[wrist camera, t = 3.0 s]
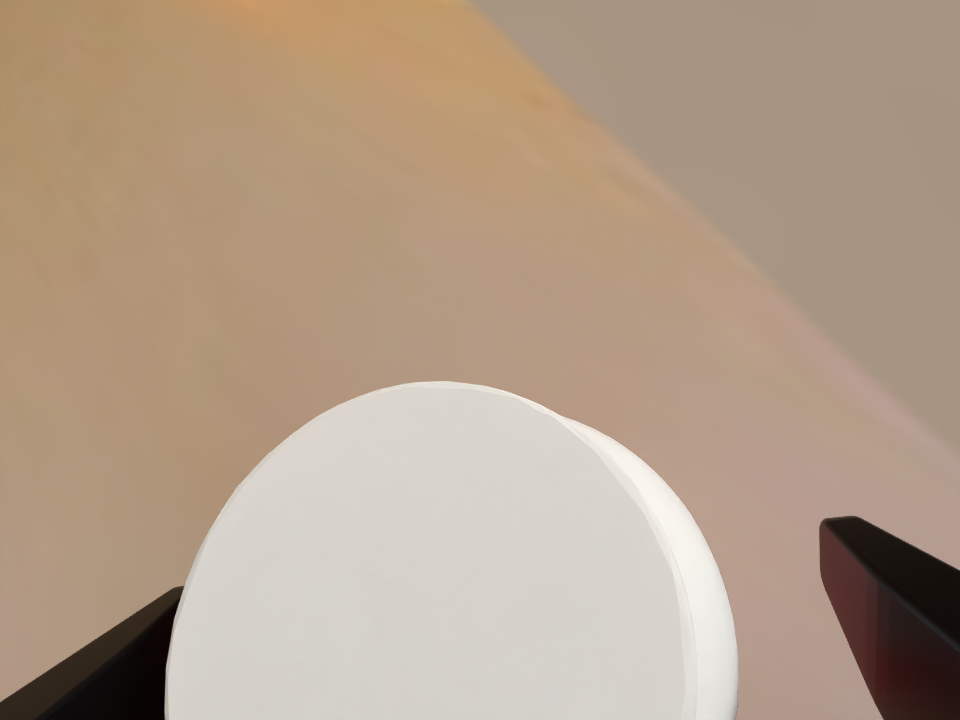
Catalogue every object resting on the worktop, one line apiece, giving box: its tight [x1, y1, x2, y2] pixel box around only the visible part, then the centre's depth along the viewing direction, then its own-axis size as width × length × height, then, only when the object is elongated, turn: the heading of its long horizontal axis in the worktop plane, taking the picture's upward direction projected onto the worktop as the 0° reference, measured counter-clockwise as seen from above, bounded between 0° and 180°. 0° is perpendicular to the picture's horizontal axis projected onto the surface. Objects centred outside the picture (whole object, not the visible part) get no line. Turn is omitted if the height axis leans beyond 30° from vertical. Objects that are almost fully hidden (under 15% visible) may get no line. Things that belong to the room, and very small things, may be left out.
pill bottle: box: [165, 381, 739, 720], centre depth 10 cm, size 6×6×11 cm
